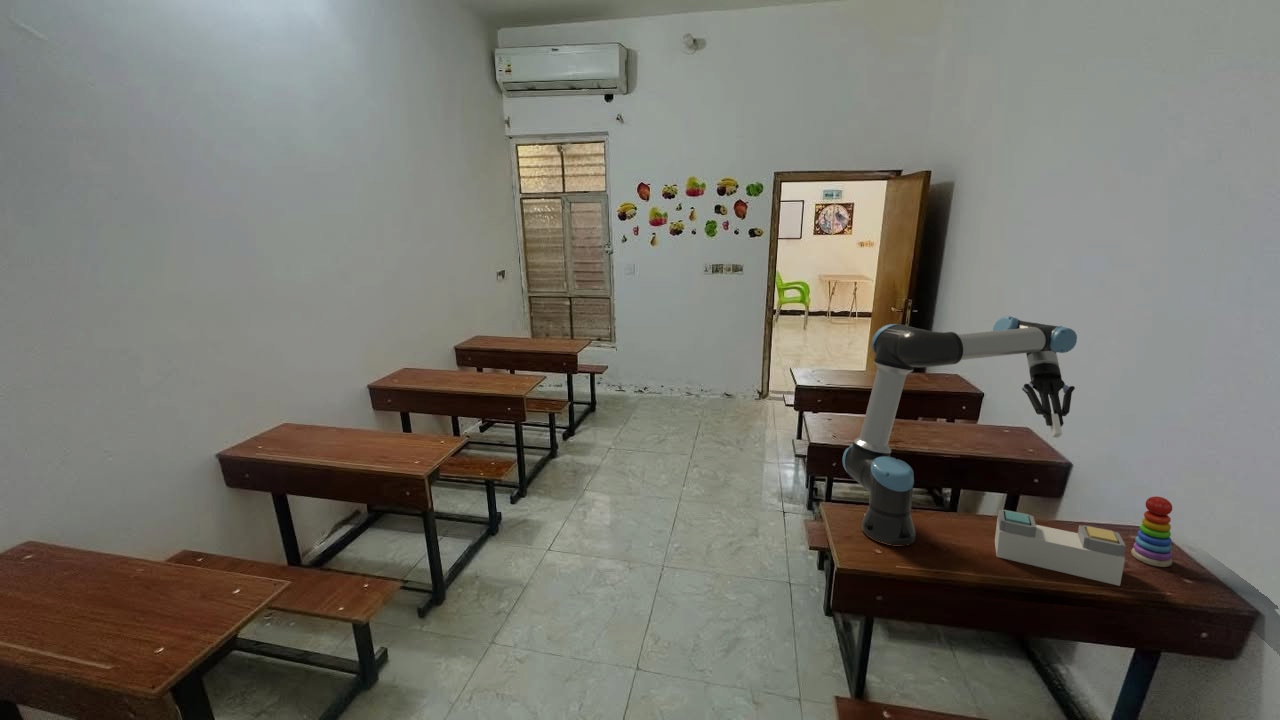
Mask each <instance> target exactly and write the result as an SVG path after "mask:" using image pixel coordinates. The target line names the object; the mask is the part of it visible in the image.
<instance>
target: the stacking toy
mask: <svg viewBox="0 0 1280 720" xmlns="http://www.w3.org/2000/svg"><path fill="white" fill-rule="evenodd" d="M1145 508H1146V509H1147V510H1146V511H1145V512H1144V513H1143V516H1144V518H1143V519H1141V523H1140V525H1139V530H1137V535H1136V537H1135V539H1134V540H1135V542H1134V543H1133V547H1132V549H1130V551H1131V555H1132V557H1134V558H1135V559H1137V560H1138V561H1140V562H1142V563H1144V564H1146V565H1150V566H1153V567H1159V568H1165V567H1166V568H1167V567H1170V566H1171V565H1173V560H1172V558H1173V552H1172V548H1173V546H1172V545H1171V544H1172V538H1171V535H1172V533H1171V529H1172V526H1171V524H1170V522H1171V517H1170V516H1169V515H1170V514H1171V513H1172V511H1173V504H1172V502H1171V501H1169V500H1168V499H1166V498H1165V497H1161V496H1150V497H1149V498H1147V499H1146V501H1145Z"/></svg>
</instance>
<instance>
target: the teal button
mask: <svg viewBox="0 0 1280 720" xmlns="http://www.w3.org/2000/svg"><path fill="white" fill-rule="evenodd" d="M1004 510H1005V517H1004V518H1005V521H1010V522H1015V523H1020V524H1025V525H1030V521H1029V518H1028V515H1027V514H1028V513H1024V514H1021V513H1022V512H1019V513H1016V512H1017V511H1014V512H1011V511H1012V510H1008V511H1006V510H1007V509H1004Z"/></svg>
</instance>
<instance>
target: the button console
mask: <svg viewBox="0 0 1280 720" xmlns="http://www.w3.org/2000/svg"><path fill="white" fill-rule="evenodd" d="M1005 510H1006V511H1009V510H1007V509H998V516H997V519H996V528H995V535H994V546H995V553H996V554H995V555H996V557H997V558H1000V559H1004V560H1008V561H1013V562H1017V563H1021V564H1026V565H1030V566H1034V567H1037V568H1043V569H1045V570H1051V571H1055V572H1060V573H1064V574H1068V575H1073V576H1076V577H1081V578H1084V579H1088V580H1093V581H1097V582H1101V583H1106V584H1110V585H1115V586H1119V587H1120V586H1121V583H1122V579H1123V578H1122V577H1123V572H1124V567H1125V560H1126V557H1125V553H1126V547H1127V545H1126V543H1125V541H1124V540H1123V538H1122V536H1121V535H1120V532H1116V531H1113V533H1114V535H1115V536H1116V538H1117V540H1118V543H1114V542H1109V541H1104V540H1099V539H1094V538H1089V536H1088V534H1087V532H1086V529H1087V526H1088V527H1093V528H1097V526H1096V527H1095V526H1091V525H1085V524H1083V525H1082V524H1081V525H1080V524H1079V525H1078V531H1077V532H1074V531H1069V530H1063V529H1059V528H1053V527H1049V526H1045V525H1038V524H1036V521H1035V517H1034V515H1031V514H1028V513H1026V514H1027V515H1028V518H1029V521H1030V525H1025V524H1020V523H1015V522H1010V521H1005V518H1004V517H1005ZM1010 511H1011V512H1016V513H1021V514H1025V513H1024V512H1018V511H1013V510H1010ZM1098 528H1099V527H1098ZM1099 529H1102V528H1101V527H1100V528H1099ZM1103 529H1104V530H1107V529H1106V528H1103ZM1108 530H1109V531H1112V530H1111V529H1108Z"/></svg>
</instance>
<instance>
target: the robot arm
mask: <svg viewBox="0 0 1280 720" xmlns="http://www.w3.org/2000/svg"><path fill="white" fill-rule="evenodd" d="M1077 340H1078V335H1077V333H1076V331H1075V330H1073V329H1072V328H1070V327H1065V326H1062V325H1059V326H1058V325H1052V324H1051V325H1050V324H1044V323H1038V322H1032V321H1026V320H1021V319H1019V318H1018V317H1015V316H1014V317H1013V316H1011V315H1005V316H1002V317H1000V318H998V320H997V321H996V322H995V323H994V325H993V328H992V331H991V330H990V331H982V332H971V333H963V334H962V333H961V334H959V333H956V332H954V331H947V332H946V331H945V332H940V331H934V330H933V331H932V330H927V329H923V328H917V327H912V326H910V325H906V324H902V323H901V324H898V323H897V324H896V323H890V324H886V325H884V326H882V327H880V328H879V329H878V330H877V331H876V332H875V334H874V335H873V338H872V340H871V348H872V350H873V352H874V354H875V357H874V361H873V364H874V365H875V366H876V368H877V369H876V374H875V377H874V381H873V386H872V389H871V391H870V392H871V394H870V396H869V401H868V404H867V408H866V413H865V415H864V420H863V423H862V428H861V431H860V435H859V437H857V438H854V440H853V443H852V444H851V445H849V447H847V448H845V450H844V452H843V456H842V466H843V468H844V470H845V471H846V473H847V474H848V475H849V476H850V478H851V479H853V480H855V481H856V482H857V483H858V484H860V485H861V486H862V487H864V488H863V489H866V490H867V491H869V500H868V508H867V510H866V512H865V514H864V516H863V518H862V520H861V528H862V529H863V531H864V532H865V533H866V534H867V535H868V536H870V537H872V538H873V539H875V540H877V541H880V542H884V543H887V544H891V545H907V544H911V543H912V544H914V543H915V541H916V529H915V525H914V521H913V519H912V514H911V513H912V501H913V492H914V484H915V479H914V470H913V468H912V467H911V466H910V465H909V464H908V463H907V462H906V461H903V459H902V460H901V459H899V458H897V459H896V457H892V456H891V453H892V449H891V447H890V446H889V441H890V437H891V433H892V430H893V426H894V423H895V419H896V416H897V411H898V408H899V403H900V400H901V396H902V394H903V393H902V392H903V389H904V385H905V381H906V378H907V375H908V374H911V373H912V372H914V369H915V368H930V367H942V366H949V365H951V366H952V365H956V364H959V363H960V362H961V361H963V360H974V359H982V358H992V357H1002V356H1012V355H1021V354H1026V359H1027V364H1028V365H1027V366H1028V370H1029V377H1030V381H1029V383H1024V385H1023V386H1022V388H1021V390H1022V391H1023V392H1024V393H1025V394H1026V395H1027V398H1028V399H1029V401H1030V404H1031V406H1032V407H1033V410H1034V412H1035V414H1037V415H1038V416H1039V415H1041V416H1042V417H1043V418H1044V419H1045V424H1046V426H1048V427H1050V431H1051V432H1050V433H1051V437H1052V438H1056V439H1059V438H1060V437H1061V436H1062V435H1063V431H1062V427H1063V426H1064V424H1065V423H1064V419H1063V417H1067V415H1069V413H1070V409H1071V402H1072V394H1073V391H1075V389H1076V386H1074V385H1071V386H1069V385H1066V383H1065V381H1064V380H1063V379H1062V373H1061V368H1060V364H1059V363H1060V362H1059V358H1058V355H1057V353H1060V354H1064V353H1065V354H1066V353H1069V352H1070V351H1072V350H1073V349H1074V348H1075V346H1076V345H1077V342H1078V341H1077ZM1062 389H1063V390H1062ZM1061 390H1062V392H1063V394H1064V395H1063V399H1062V405H1061V400H1060V394H1059V393H1060V392H1061ZM1036 392H1038V395H1039V397H1038V395H1037V393H1036ZM1039 398H1040V399H1039ZM1050 402H1051V403H1050ZM1051 406H1052V408H1051ZM1052 411H1053V413H1052ZM862 529H861V530H862ZM912 544H911V545H912Z"/></svg>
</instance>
